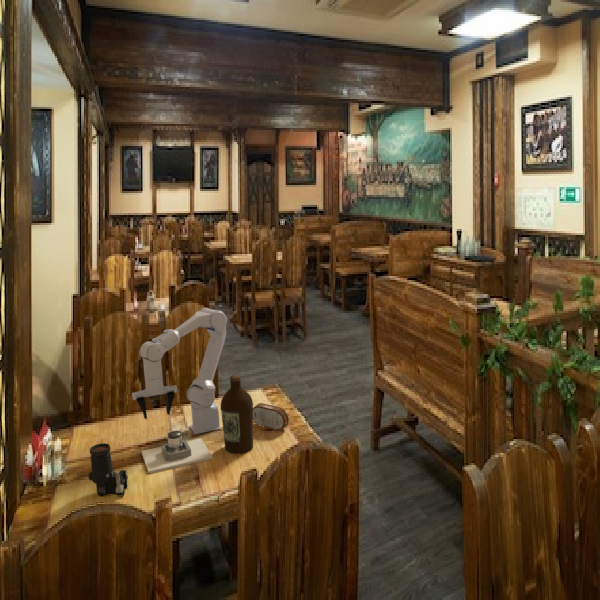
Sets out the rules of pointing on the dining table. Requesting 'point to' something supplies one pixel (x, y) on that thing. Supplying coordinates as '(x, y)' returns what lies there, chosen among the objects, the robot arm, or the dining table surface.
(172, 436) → the lens
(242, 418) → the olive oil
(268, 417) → the tin
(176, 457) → the mount plate
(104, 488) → the black camera
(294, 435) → the dining table surface
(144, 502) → the dining table surface
